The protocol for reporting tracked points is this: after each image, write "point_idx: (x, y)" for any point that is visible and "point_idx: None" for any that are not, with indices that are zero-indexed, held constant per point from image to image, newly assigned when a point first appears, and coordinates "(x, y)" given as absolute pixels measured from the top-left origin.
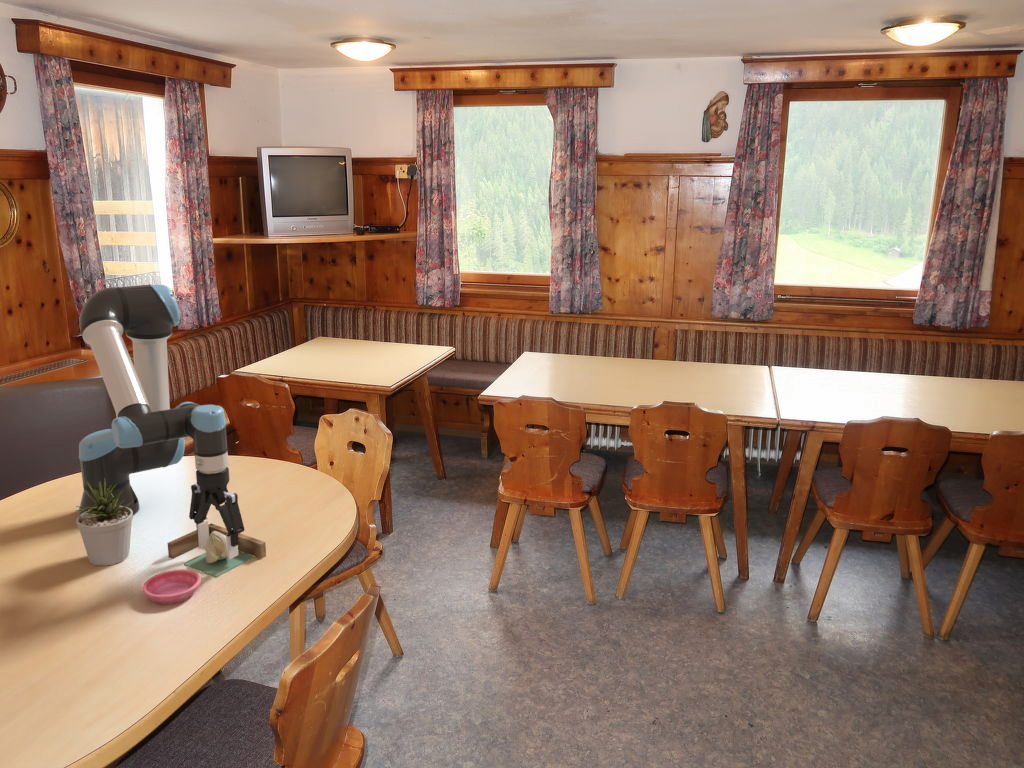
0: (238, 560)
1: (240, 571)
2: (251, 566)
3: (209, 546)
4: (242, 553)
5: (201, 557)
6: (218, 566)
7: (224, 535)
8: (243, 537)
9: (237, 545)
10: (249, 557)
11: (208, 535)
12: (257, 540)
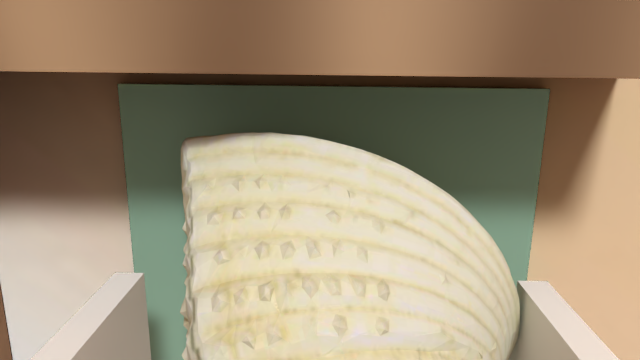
0: (476, 215)
1: (598, 310)
2: (626, 213)
3: None
4: (413, 107)
5: (181, 326)
6: None
7: (345, 339)
8: (402, 58)
9: (601, 344)
10: (523, 128)
11: (100, 337)
12: (622, 24)
